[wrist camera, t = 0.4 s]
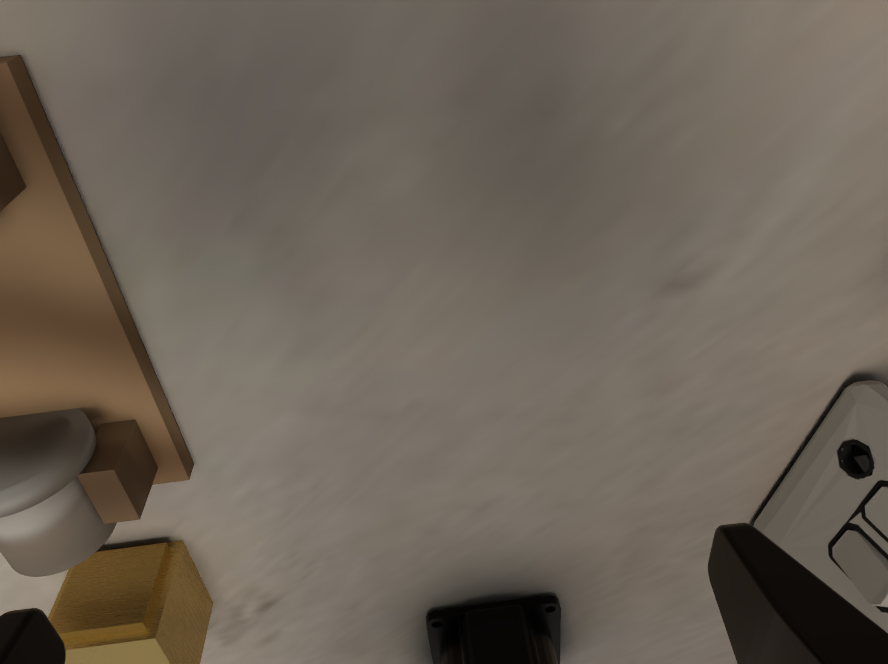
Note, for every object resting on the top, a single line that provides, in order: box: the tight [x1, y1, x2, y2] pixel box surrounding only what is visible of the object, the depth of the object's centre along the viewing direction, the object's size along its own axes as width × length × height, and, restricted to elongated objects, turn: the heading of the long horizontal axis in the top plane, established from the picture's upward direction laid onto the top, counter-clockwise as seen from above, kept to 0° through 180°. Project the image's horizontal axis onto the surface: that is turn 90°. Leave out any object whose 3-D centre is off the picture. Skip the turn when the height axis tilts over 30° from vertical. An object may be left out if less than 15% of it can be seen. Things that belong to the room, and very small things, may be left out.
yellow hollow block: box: [48, 540, 213, 664], centre depth 28 cm, size 5×4×4 cm
